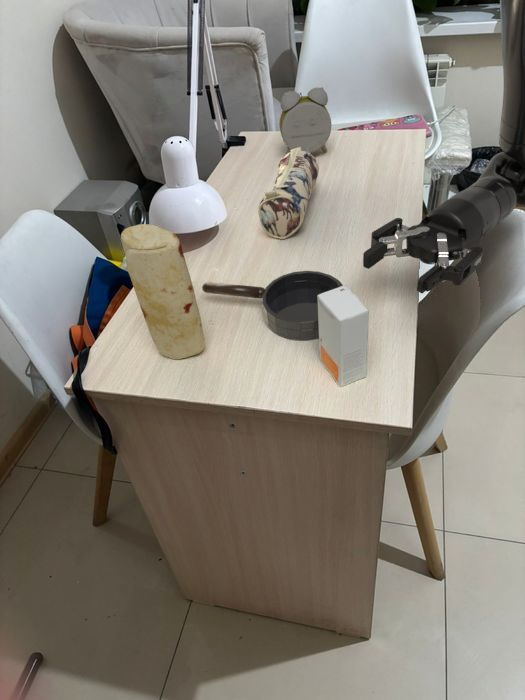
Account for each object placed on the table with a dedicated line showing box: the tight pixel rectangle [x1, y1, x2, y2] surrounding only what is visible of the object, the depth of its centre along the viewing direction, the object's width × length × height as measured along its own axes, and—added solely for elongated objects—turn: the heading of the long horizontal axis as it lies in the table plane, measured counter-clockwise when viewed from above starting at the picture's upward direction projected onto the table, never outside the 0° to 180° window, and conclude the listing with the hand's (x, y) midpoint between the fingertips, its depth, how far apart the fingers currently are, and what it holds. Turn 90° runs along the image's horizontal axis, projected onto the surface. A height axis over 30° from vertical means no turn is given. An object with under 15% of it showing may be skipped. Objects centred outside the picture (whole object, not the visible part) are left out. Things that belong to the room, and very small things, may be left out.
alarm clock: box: [279, 86, 333, 156], centre depth 118 cm, size 12×7×15 cm, turn 94°
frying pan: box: [261, 270, 344, 342], centre depth 79 cm, size 13×13×4 cm
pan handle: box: [201, 281, 265, 300], centre depth 82 cm, size 11×2×2 cm, turn 73°
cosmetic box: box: [317, 284, 370, 388], centre depth 67 cm, size 6×4×12 cm
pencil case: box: [257, 147, 320, 240], centre depth 101 cm, size 22×8×10 cm, turn 167°
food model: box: [120, 223, 206, 360], centre depth 71 cm, size 10×7×20 cm
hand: (391, 274), depth 66 cm, fingers open, 8 cm apart
